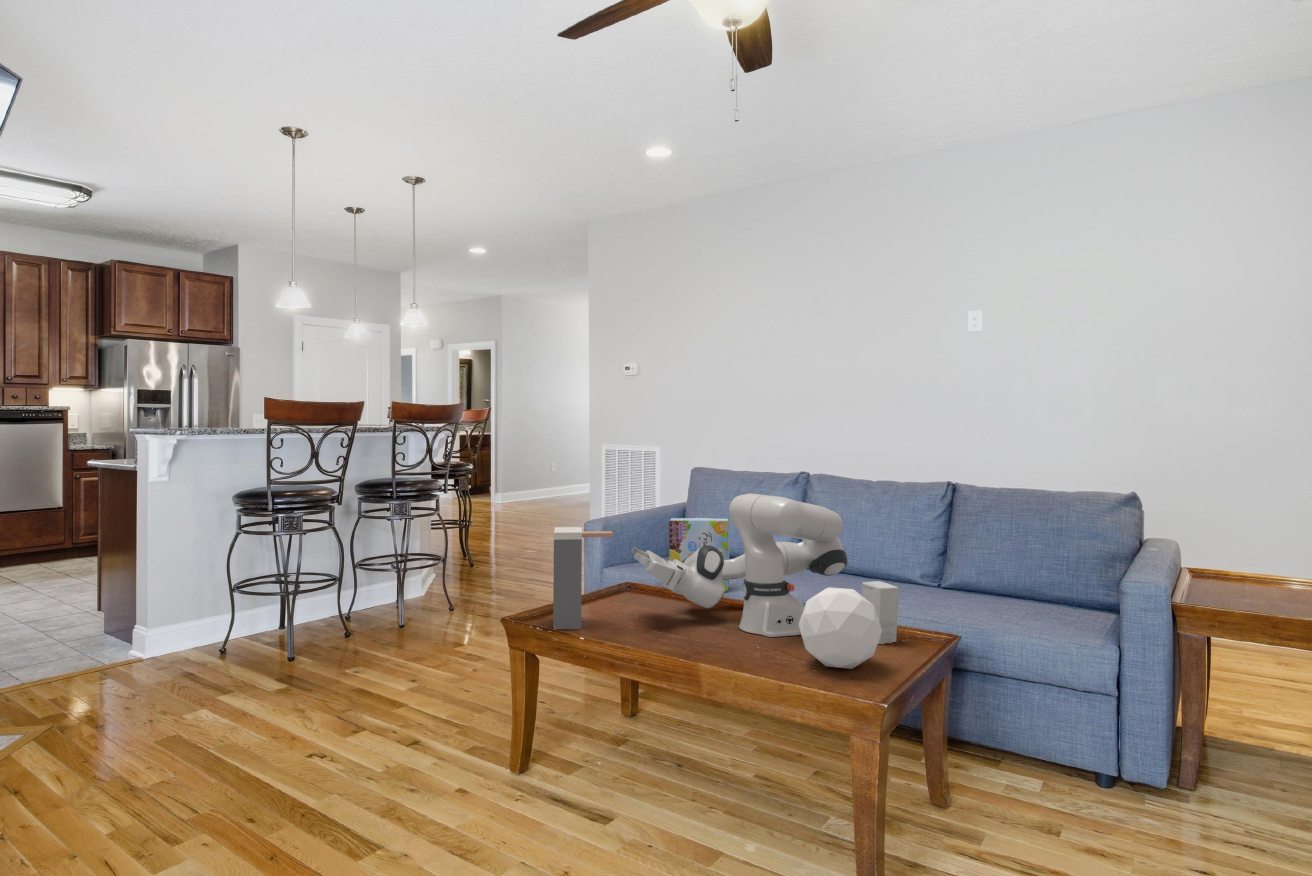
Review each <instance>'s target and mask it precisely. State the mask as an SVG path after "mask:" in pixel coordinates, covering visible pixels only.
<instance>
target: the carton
mask: <svg viewBox="0 0 1312 876" xmlns="http://www.w3.org/2000/svg"><path fill="white" fill-rule="evenodd" d="M582 553H583V538H582V539H568V540H554V539H553V588H552V589H553V592H552V595H553V597H552V598H553V600H552V601H553V605H552V606H553V609H552V611H553V614H552V617H553V618H552V620H553V621H552V628H564V629H581V630H582V582H583V581H582V578H583V577H582V574H583V573H582V570H583V567H582V566H583V565H582V563H583V557H582V556H583V554H582Z"/></svg>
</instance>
